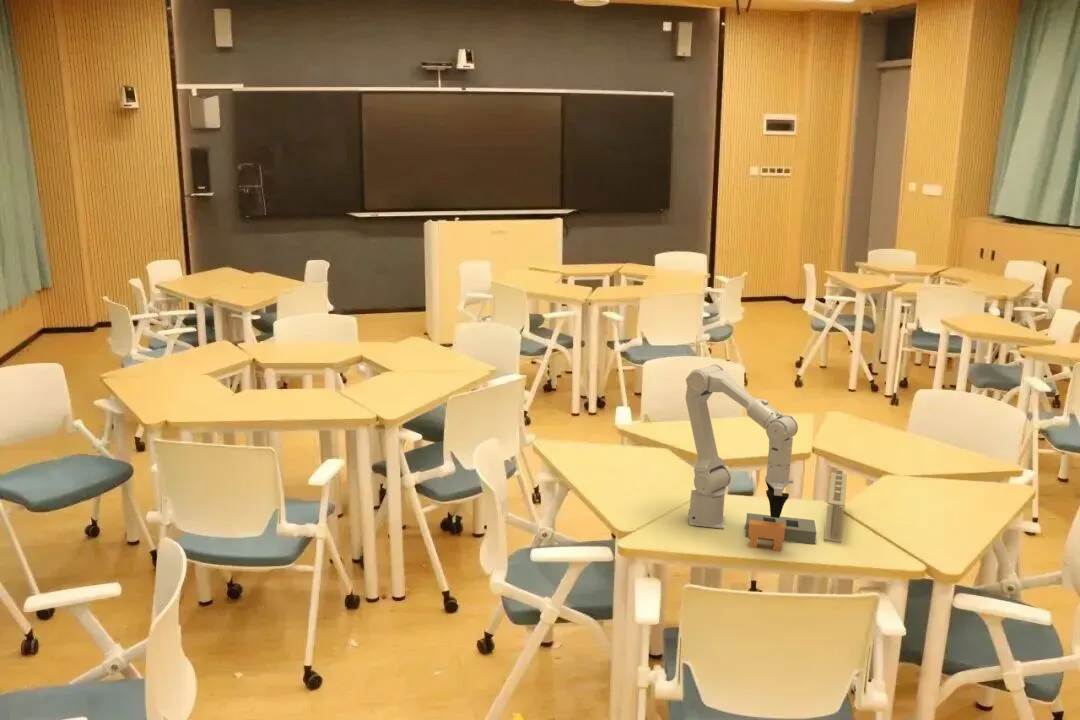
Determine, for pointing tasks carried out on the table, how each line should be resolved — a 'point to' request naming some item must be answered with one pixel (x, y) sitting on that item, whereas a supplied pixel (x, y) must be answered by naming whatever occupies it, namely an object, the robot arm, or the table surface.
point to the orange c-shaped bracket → (766, 532)
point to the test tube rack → (835, 507)
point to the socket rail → (789, 527)
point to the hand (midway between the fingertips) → (774, 511)
